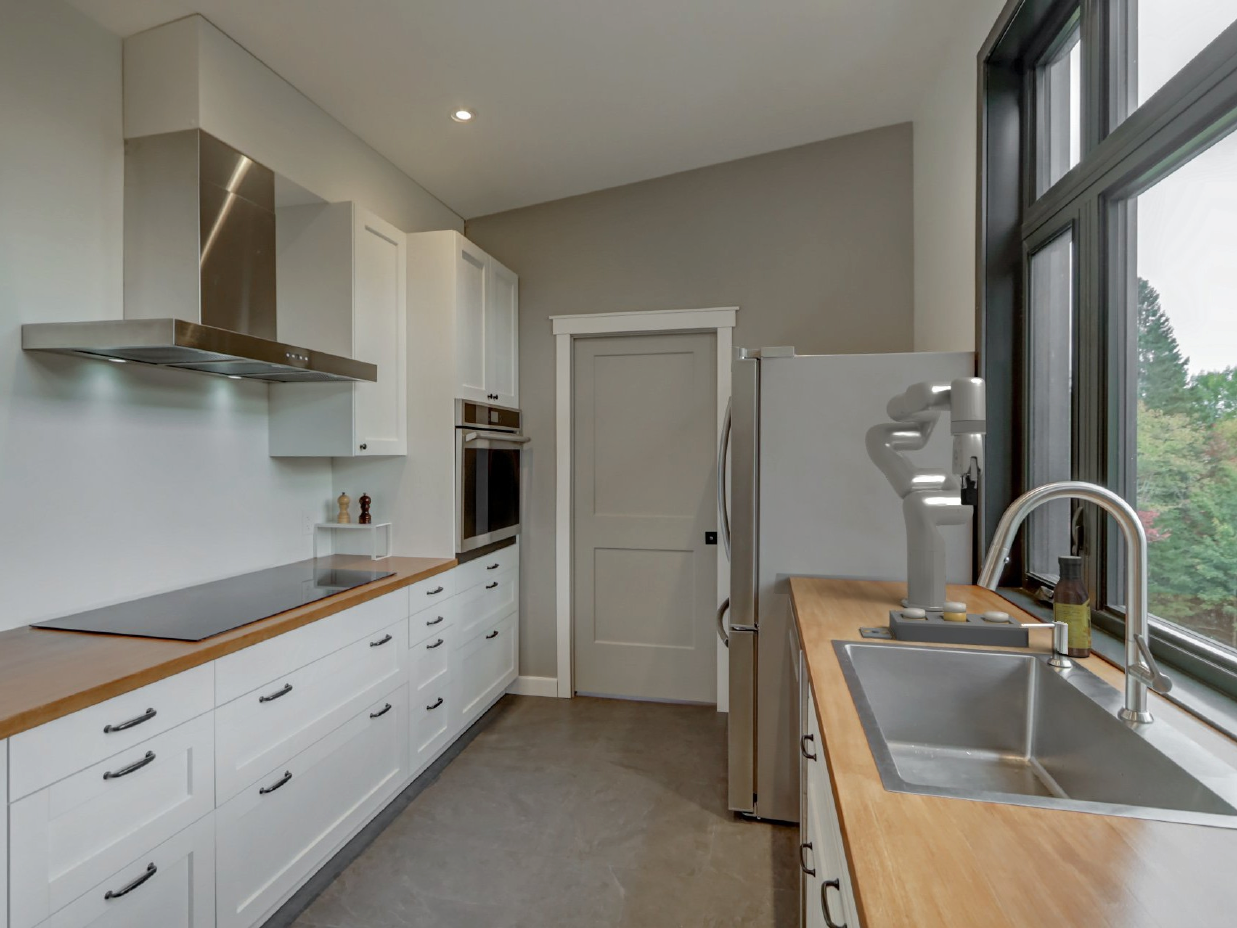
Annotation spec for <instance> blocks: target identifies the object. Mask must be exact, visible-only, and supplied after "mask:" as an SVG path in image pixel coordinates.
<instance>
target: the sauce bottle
mask: <svg viewBox="0 0 1237 928" xmlns="http://www.w3.org/2000/svg"><path fill="white" fill-rule="evenodd" d="M1057 563H1058V565H1059V566H1058V567H1059V569H1058V570H1059V574H1058V576H1059V577H1058V578H1059V579H1058V581H1057V582H1056V584H1055V585H1054V587H1053V603H1052V605H1053V608H1052V609H1053V623H1054V622H1057V621H1061V622H1064V623H1067V624H1068V655H1069V656H1068V657H1077V658H1079V657H1080V658H1081V657H1082V658H1085V657H1089V656H1090V655H1091V648H1092V625H1091V624H1092V623H1091V599H1090V595H1089V591H1088V590H1087V586H1086V584H1085V582H1084V580H1083V576H1082V564H1083V560H1082V557H1081V556H1075V555H1061V556H1058V557H1057Z"/></svg>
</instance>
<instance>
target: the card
mask: <svg viewBox="0 0 1237 928" xmlns="http://www.w3.org/2000/svg"><path fill="white" fill-rule="evenodd" d="M859 631H860V632H861V635H862V638H863V639H880V640H881V639H882V640H892V639H893V638H892V635H891V634H890V631H889V630H888V628H882V627H881V628H880V627H879V628H878V627H864V626H863V627H859Z"/></svg>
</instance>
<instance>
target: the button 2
mask: <svg viewBox="0 0 1237 928" xmlns="http://www.w3.org/2000/svg"><path fill="white" fill-rule="evenodd" d="M984 614H985V622H986V623H1000V624H1009V620H1008V615H1009V613H1006V612H1003V611H998V610H997V611H996V610H994V611H993V610H988V611H985V612H984Z"/></svg>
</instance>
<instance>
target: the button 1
mask: <svg viewBox="0 0 1237 928" xmlns="http://www.w3.org/2000/svg"><path fill="white" fill-rule="evenodd" d="M902 611H903V619H912V620H925V612H926V610H923V609H919V608H908V607H905V608H903V609H902Z"/></svg>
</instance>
